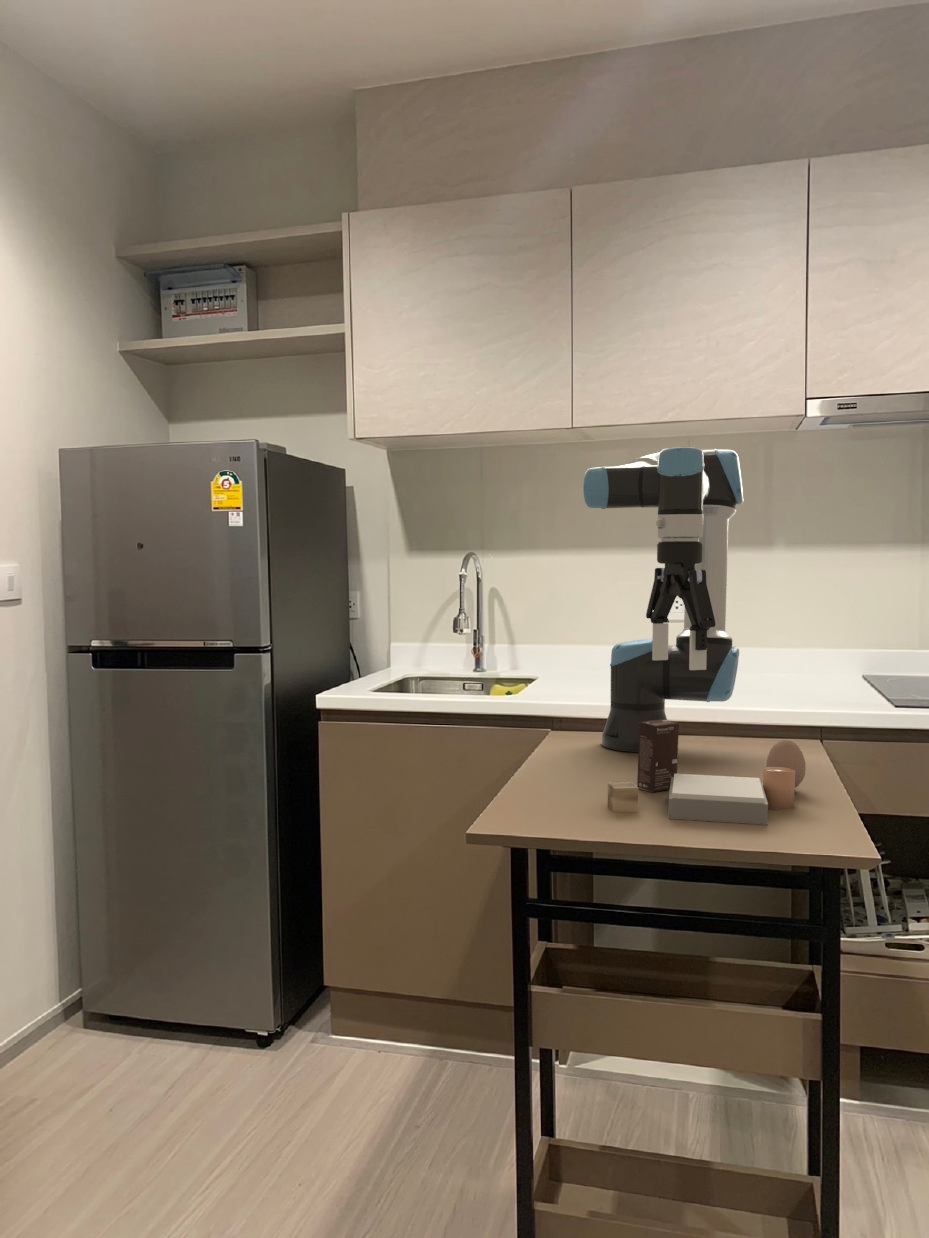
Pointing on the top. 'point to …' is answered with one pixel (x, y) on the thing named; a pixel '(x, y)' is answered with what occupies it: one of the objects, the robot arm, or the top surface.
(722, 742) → the top surface
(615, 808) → the oak block
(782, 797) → the tan round piece
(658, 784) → the box
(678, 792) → the podium
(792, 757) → the egg
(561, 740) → the top surface
